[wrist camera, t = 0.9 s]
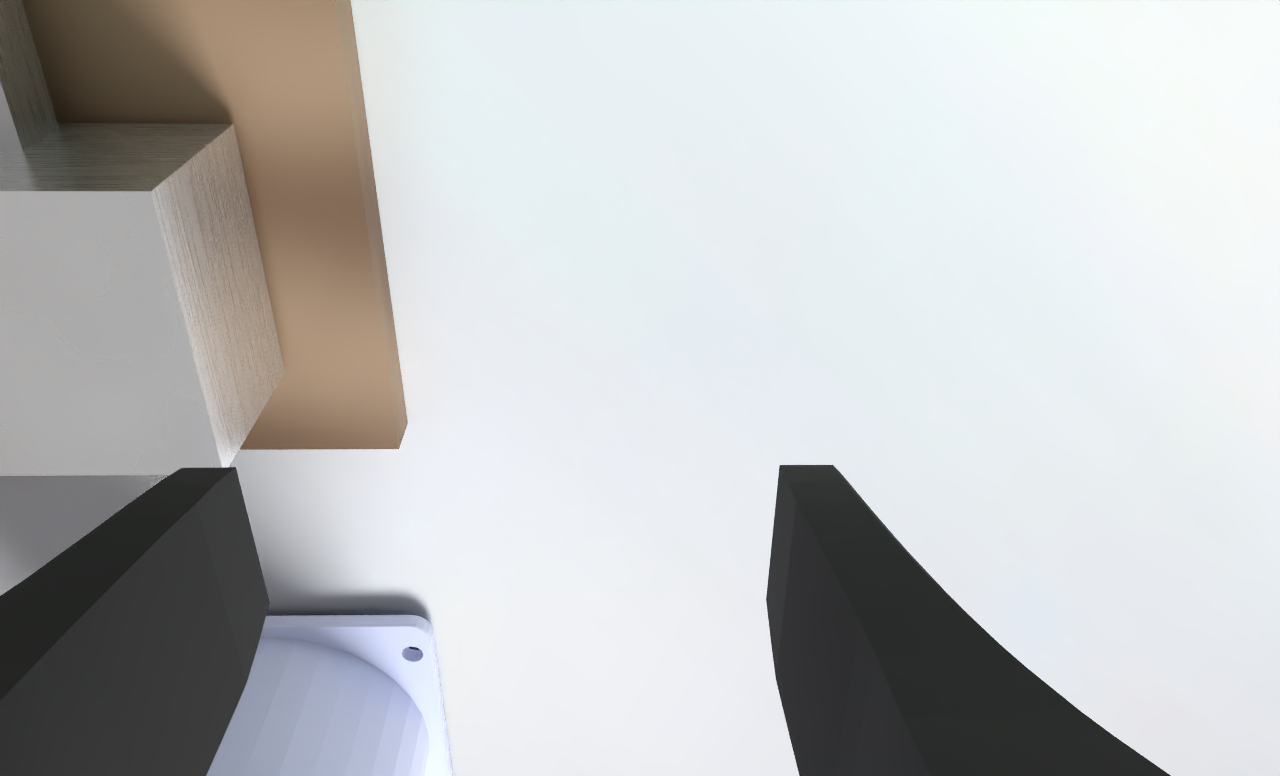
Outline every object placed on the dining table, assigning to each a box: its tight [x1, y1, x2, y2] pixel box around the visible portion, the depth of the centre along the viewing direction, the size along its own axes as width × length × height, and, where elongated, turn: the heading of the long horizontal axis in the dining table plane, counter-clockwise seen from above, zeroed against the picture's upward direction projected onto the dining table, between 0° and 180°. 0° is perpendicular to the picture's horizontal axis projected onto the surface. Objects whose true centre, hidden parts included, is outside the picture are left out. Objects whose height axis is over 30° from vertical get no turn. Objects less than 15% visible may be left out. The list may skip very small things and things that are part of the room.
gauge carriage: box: [0, 0, 285, 476], centre depth 16 cm, size 9×4×4 cm, turn 179°
